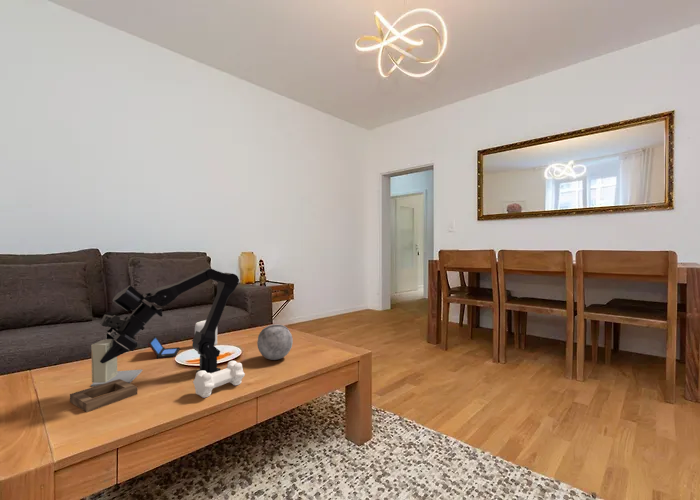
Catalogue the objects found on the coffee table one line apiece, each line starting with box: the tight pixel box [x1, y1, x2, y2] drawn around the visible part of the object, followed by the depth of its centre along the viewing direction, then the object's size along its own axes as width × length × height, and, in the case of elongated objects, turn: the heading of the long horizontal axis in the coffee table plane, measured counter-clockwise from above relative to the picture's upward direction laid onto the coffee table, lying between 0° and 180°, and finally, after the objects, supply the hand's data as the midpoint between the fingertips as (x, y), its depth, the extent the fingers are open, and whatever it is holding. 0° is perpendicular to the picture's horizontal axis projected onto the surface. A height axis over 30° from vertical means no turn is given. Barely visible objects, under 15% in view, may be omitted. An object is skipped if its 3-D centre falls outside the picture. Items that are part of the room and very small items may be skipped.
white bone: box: [192, 360, 246, 398], centre depth 115 cm, size 15×9×8 cm, turn 144°
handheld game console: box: [147, 335, 181, 360], centre depth 151 cm, size 12×11×7 cm
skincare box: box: [90, 338, 118, 384], centre depth 108 cm, size 6×4×12 cm
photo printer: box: [194, 319, 218, 346], centre depth 164 cm, size 10×4×12 cm, turn 123°
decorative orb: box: [256, 323, 294, 361], centre depth 145 cm, size 15×14×15 cm
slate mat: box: [90, 368, 143, 387], centre depth 124 cm, size 12×12×1 cm
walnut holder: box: [69, 379, 138, 413], centre depth 108 cm, size 12×14×2 cm
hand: (99, 359), depth 107 cm, fingers closed on skincare box, 7 cm apart
